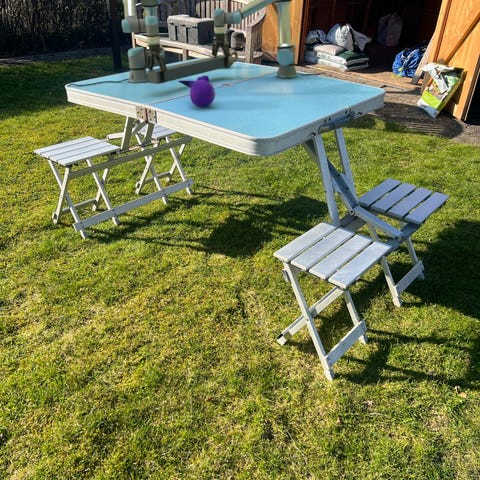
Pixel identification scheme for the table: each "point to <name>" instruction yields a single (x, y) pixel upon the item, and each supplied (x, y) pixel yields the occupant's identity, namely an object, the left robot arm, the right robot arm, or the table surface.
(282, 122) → the table surface
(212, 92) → the toy
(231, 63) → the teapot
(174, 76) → the wide block
